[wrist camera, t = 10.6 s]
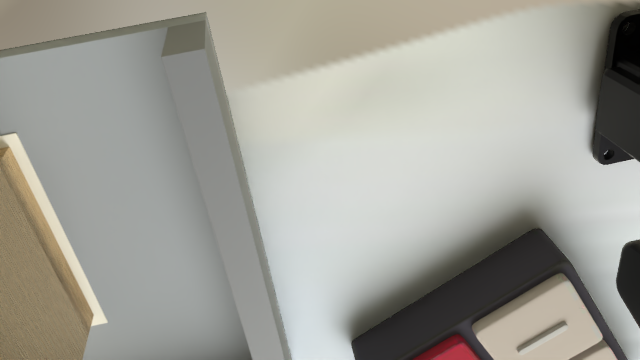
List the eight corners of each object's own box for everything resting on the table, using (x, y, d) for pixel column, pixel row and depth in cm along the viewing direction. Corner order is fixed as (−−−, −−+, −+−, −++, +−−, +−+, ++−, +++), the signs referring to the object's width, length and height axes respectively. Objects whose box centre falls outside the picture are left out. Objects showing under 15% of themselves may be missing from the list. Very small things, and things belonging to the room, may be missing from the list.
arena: (206, 12, 18) (204, 48, 15) (293, 366, 28) (304, 437, 25) (-299, 105, 17) (-422, 167, 14) (-29, 441, 27) (-64, 527, 24)
